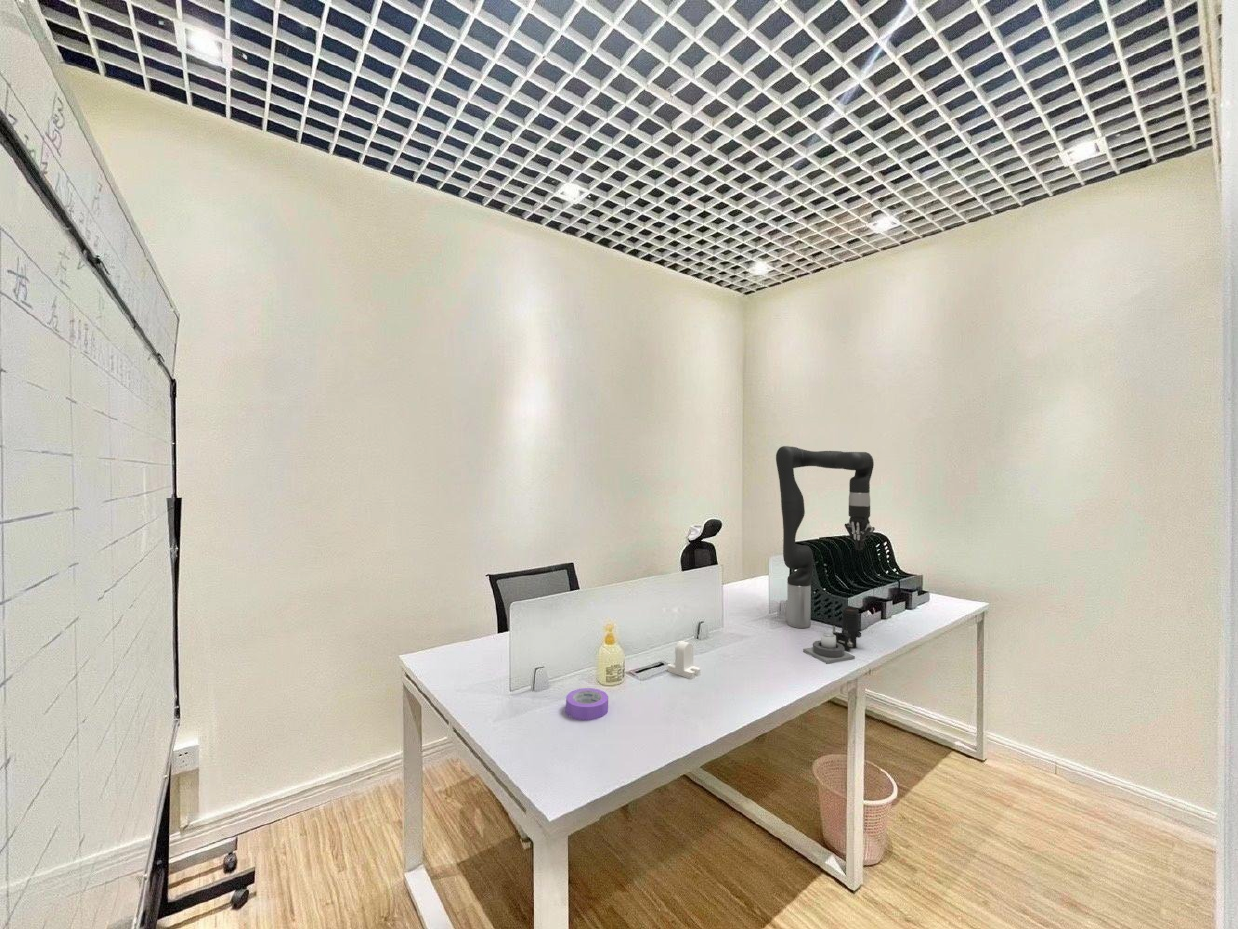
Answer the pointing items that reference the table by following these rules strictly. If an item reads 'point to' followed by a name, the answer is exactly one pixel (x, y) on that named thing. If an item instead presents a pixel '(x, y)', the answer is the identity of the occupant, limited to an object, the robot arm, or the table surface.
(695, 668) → the cable organizer
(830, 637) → the cap
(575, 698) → the masking tape
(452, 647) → the table surface
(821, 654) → the ring on square plate
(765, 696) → the table surface
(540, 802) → the table surface
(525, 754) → the table surface
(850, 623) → the scope
